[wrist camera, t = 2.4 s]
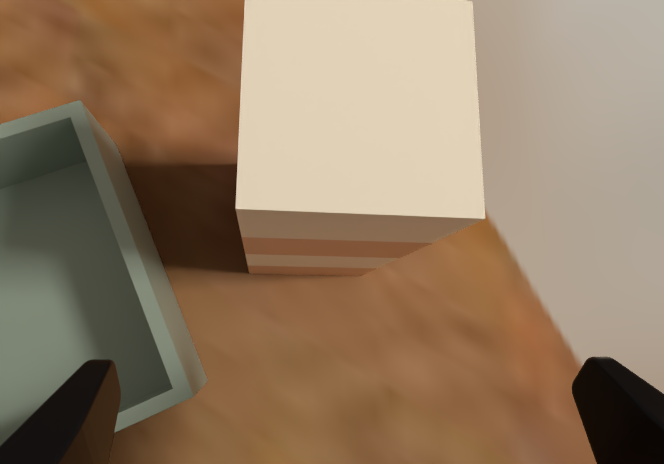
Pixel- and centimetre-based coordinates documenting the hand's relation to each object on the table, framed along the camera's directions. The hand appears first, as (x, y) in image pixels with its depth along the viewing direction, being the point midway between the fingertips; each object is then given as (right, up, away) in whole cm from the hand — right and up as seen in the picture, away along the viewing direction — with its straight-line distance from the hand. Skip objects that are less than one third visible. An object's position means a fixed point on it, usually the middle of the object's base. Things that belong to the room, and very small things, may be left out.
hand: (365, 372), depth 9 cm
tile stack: (-2, +3, +12) cm, 13 cm away
